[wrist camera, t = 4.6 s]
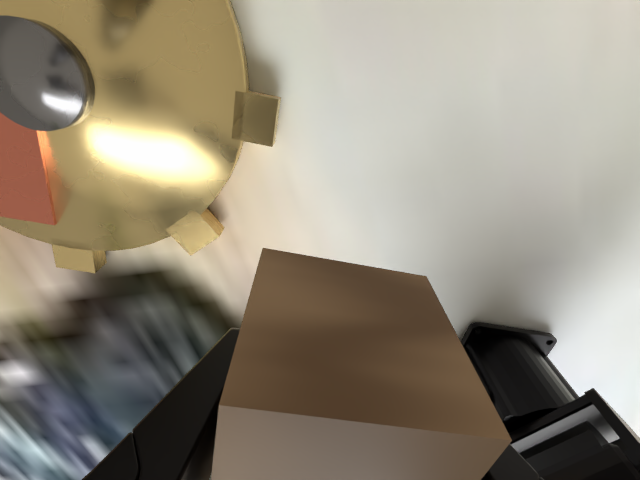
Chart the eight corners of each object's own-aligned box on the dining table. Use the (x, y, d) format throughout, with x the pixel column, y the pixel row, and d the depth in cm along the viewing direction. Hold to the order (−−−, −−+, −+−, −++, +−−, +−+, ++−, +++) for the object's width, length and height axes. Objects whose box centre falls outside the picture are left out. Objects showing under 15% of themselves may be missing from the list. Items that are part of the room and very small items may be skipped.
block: (426, 276, 9) (511, 440, 5) (379, 385, 11) (414, 563, 7) (263, 248, 9) (218, 405, 5) (244, 367, 11) (203, 546, 7)
